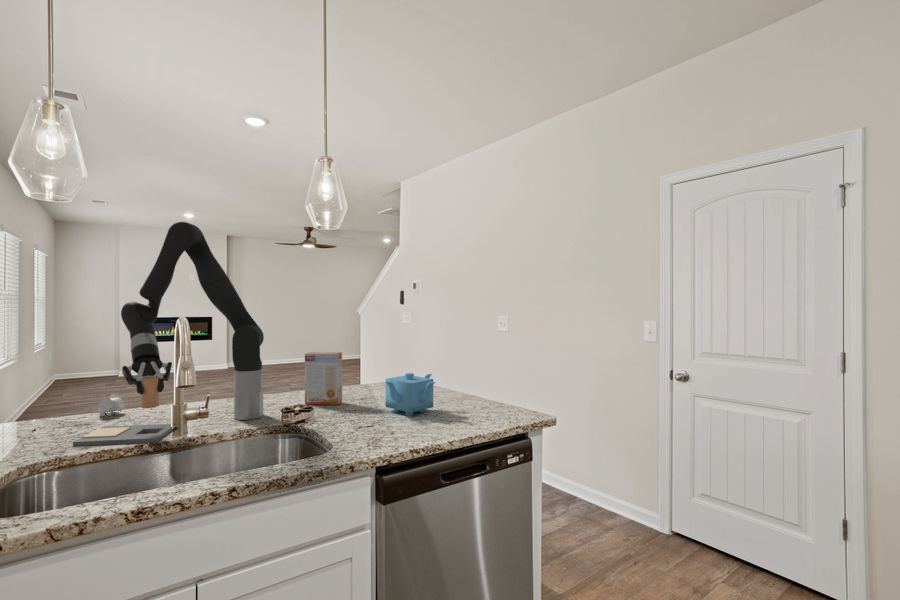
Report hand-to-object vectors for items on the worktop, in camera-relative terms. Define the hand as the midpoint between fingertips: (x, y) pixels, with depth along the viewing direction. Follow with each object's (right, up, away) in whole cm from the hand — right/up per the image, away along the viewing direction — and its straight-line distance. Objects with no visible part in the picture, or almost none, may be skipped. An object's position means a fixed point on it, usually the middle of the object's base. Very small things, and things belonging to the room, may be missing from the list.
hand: (151, 391), depth 145 cm
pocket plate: (-7, -14, 0) cm, 16 cm away
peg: (-1, -5, +2) cm, 5 cm away
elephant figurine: (-31, -14, +26) cm, 43 cm away
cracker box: (+41, -14, +46) cm, 63 cm away
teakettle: (+78, -14, +32) cm, 86 cm away
